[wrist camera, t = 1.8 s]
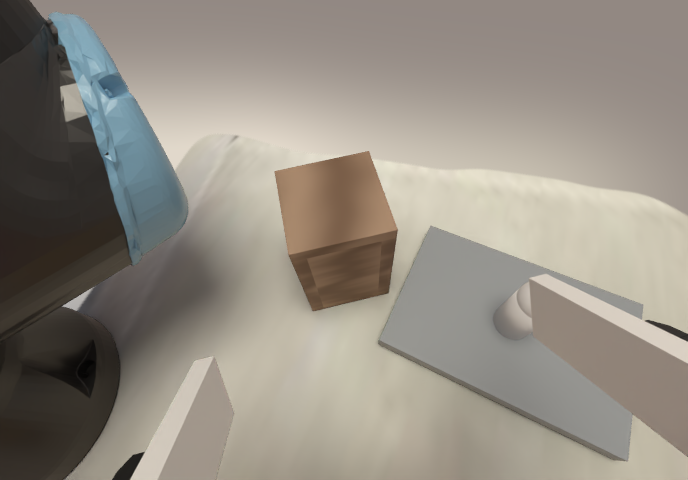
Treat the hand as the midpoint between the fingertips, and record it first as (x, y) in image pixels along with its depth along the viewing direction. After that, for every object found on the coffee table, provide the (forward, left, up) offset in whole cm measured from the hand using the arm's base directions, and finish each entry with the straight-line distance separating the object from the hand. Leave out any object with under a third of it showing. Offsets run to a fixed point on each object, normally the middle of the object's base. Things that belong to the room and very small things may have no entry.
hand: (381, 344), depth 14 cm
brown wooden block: (-7, +8, -15) cm, 19 cm away
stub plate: (+8, +9, -15) cm, 19 cm away
